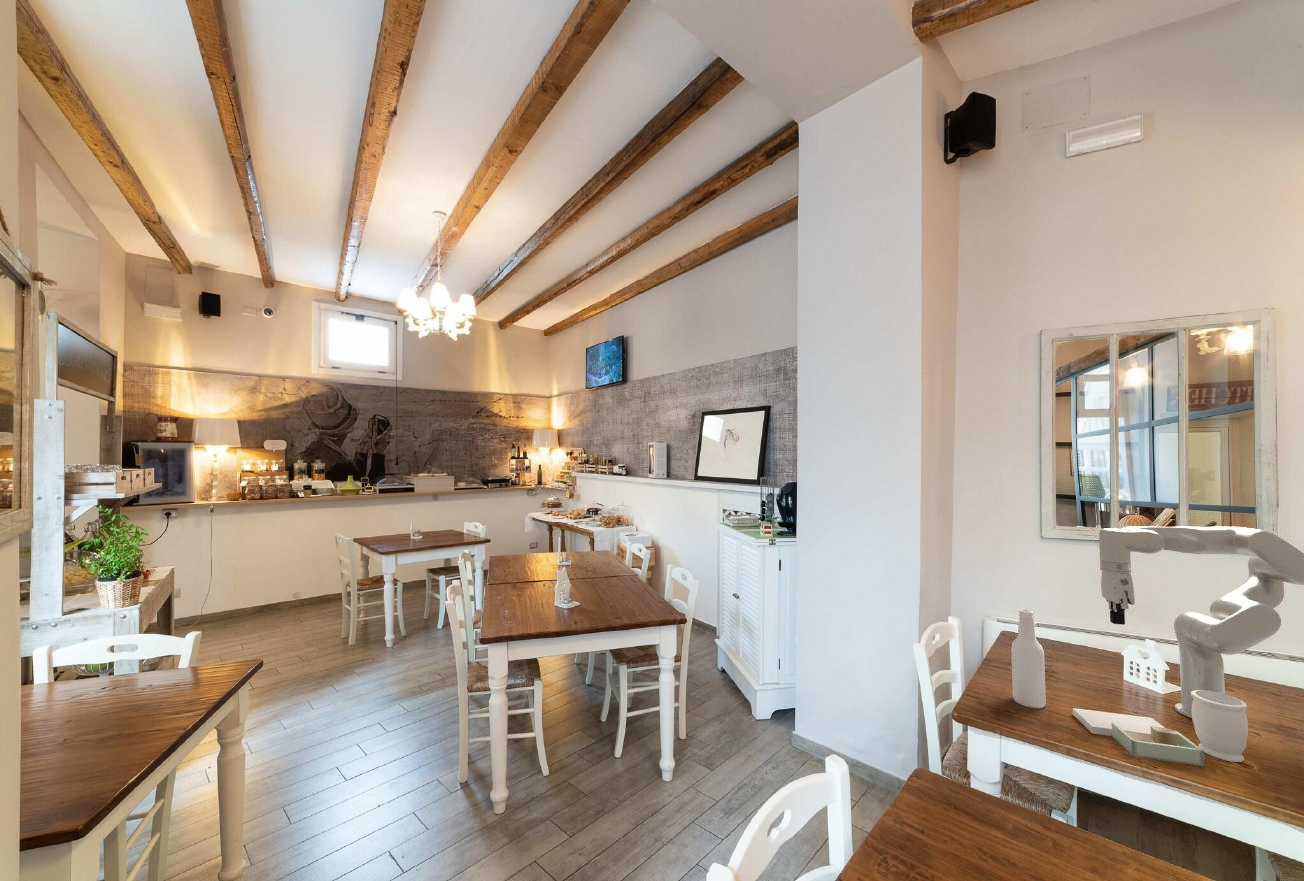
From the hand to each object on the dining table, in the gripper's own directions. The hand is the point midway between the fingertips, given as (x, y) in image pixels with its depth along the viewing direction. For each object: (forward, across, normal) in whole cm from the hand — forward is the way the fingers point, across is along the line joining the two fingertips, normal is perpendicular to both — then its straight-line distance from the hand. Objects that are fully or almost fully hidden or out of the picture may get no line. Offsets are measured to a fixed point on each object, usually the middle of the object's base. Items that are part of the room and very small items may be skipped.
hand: (1117, 623), depth 166 cm
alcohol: (+27, -5, +27) cm, 39 cm away
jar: (+27, -24, -11) cm, 38 cm away
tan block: (+24, -29, +9) cm, 38 cm away
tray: (+27, -28, +5) cm, 39 cm away
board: (+27, -16, +7) cm, 32 cm away
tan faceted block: (+24, -24, +2) cm, 34 cm away
